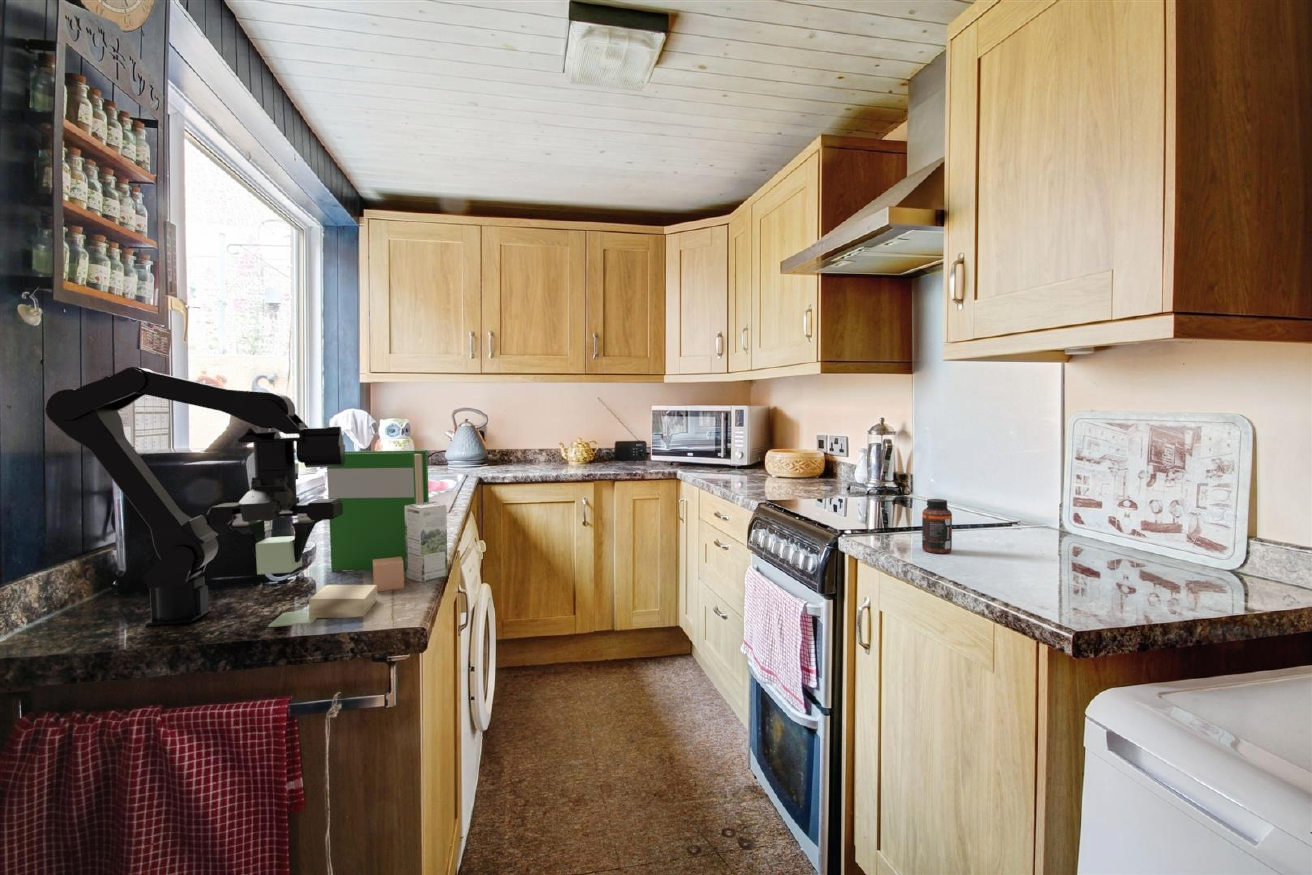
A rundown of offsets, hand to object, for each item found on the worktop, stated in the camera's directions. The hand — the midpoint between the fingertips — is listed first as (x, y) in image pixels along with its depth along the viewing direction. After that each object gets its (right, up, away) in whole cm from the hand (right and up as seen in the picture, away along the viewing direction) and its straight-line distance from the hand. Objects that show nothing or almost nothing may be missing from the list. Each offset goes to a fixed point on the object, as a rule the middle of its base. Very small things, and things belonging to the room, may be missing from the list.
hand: (279, 563), depth 104 cm
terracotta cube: (+13, -7, +12) cm, 19 cm away
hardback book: (+5, -6, +28) cm, 29 cm away
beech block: (+11, -7, -2) cm, 14 cm away
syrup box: (+18, -7, +18) cm, 26 cm away
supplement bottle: (+124, -4, +33) cm, 128 cm away
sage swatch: (+6, -8, -6) cm, 11 cm away
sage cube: (0, -1, 0) cm, 1 cm away
